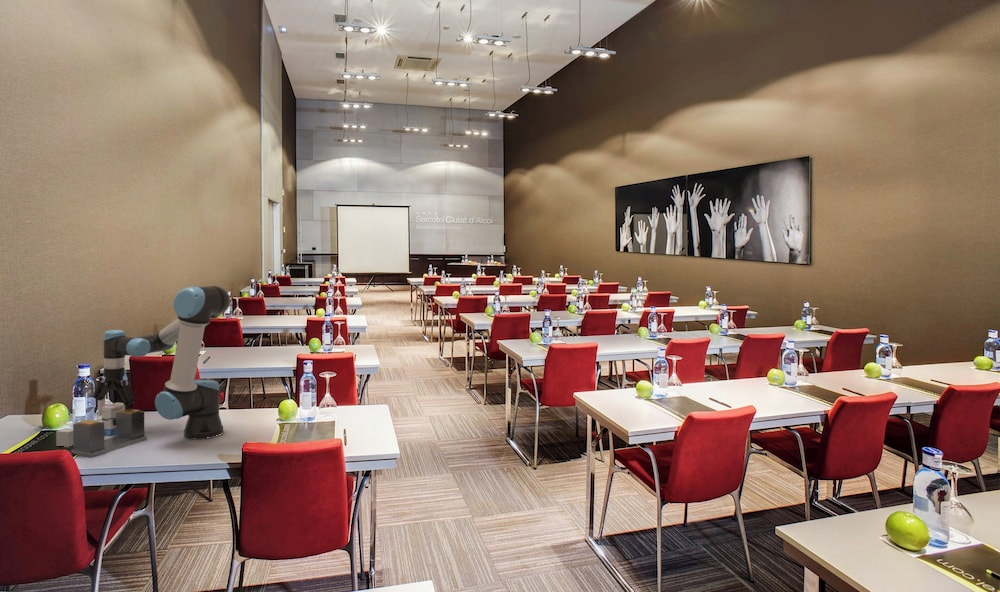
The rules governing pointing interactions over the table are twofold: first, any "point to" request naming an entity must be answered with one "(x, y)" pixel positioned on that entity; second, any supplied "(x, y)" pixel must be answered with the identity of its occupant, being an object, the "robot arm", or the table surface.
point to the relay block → (64, 437)
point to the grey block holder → (92, 438)
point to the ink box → (110, 417)
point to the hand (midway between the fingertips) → (113, 417)
